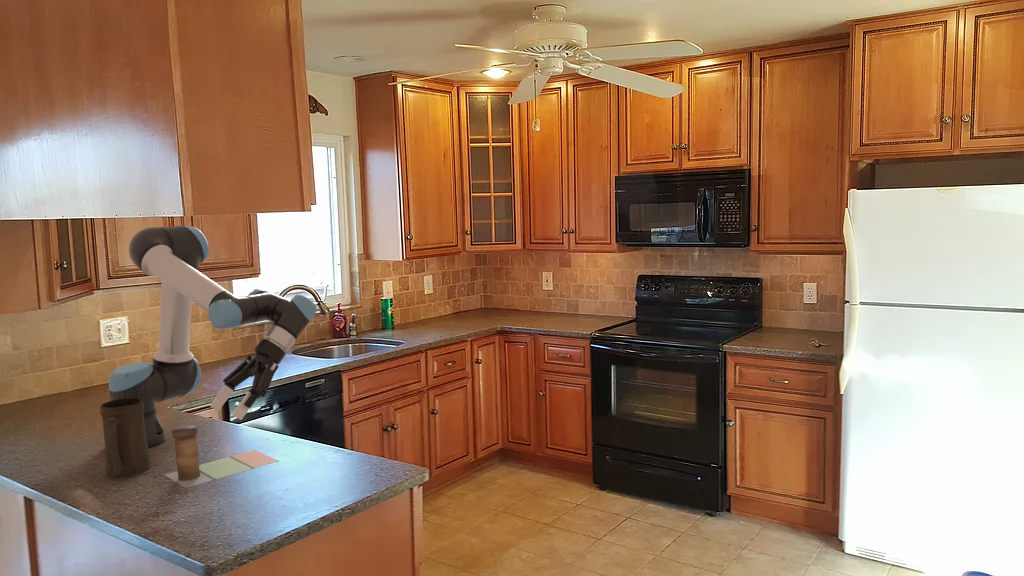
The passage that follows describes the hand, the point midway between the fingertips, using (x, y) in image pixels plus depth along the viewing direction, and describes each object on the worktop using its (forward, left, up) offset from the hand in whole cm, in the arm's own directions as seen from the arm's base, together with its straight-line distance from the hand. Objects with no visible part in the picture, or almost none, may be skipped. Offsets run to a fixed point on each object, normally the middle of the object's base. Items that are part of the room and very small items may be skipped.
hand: (224, 412), depth 186 cm
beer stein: (-16, -20, -16) cm, 30 cm away
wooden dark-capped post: (0, -10, -14) cm, 17 cm away
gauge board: (0, -2, -16) cm, 16 cm away
